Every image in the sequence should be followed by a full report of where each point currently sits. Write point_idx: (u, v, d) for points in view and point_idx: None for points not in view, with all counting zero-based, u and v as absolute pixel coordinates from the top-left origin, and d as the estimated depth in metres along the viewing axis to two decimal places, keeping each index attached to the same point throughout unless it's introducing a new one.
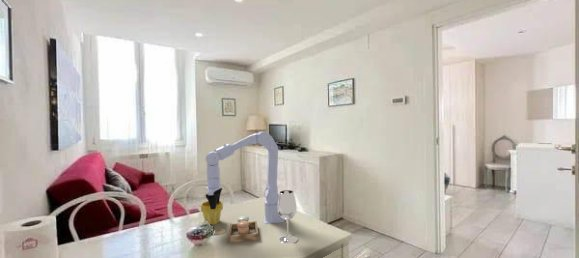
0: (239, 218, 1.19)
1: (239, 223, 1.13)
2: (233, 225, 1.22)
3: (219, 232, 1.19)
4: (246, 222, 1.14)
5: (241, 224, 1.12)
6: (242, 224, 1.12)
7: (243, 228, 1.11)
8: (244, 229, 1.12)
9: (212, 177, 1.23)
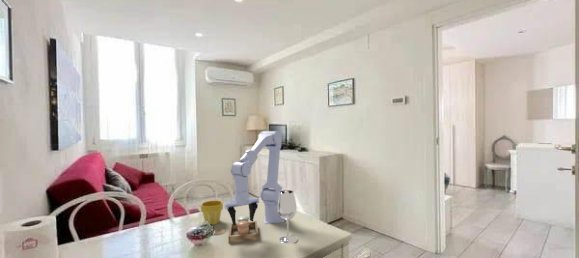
0: (239, 218, 1.19)
1: (239, 223, 1.13)
2: (233, 225, 1.22)
3: (219, 232, 1.19)
4: (246, 222, 1.14)
5: (241, 224, 1.12)
6: (242, 224, 1.12)
7: (243, 228, 1.11)
8: (244, 229, 1.12)
9: (246, 189, 1.11)
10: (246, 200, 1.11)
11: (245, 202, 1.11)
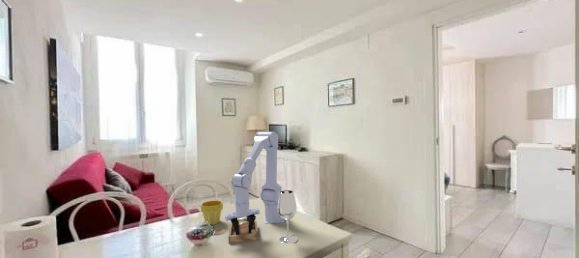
0: (239, 218, 1.19)
1: (239, 223, 1.13)
2: None
3: (219, 232, 1.19)
4: (246, 222, 1.14)
5: (241, 224, 1.12)
6: (242, 224, 1.12)
7: (243, 228, 1.11)
8: (244, 229, 1.12)
9: (246, 201, 1.11)
10: (247, 212, 1.11)
11: (246, 214, 1.11)
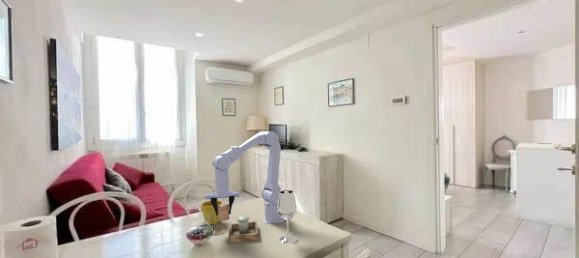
0: (239, 218, 1.19)
1: (219, 205, 1.18)
2: (233, 225, 1.22)
3: (219, 232, 1.19)
4: (226, 204, 1.18)
5: (220, 206, 1.16)
6: (221, 206, 1.16)
7: (222, 210, 1.15)
8: (223, 211, 1.15)
9: (224, 183, 1.15)
10: (224, 193, 1.15)
11: (223, 195, 1.15)
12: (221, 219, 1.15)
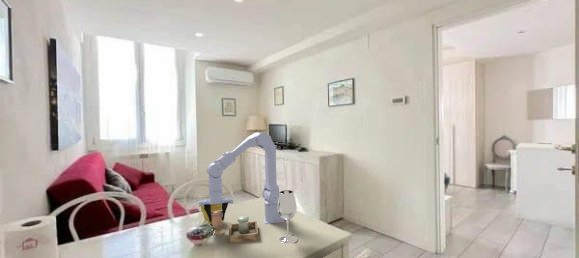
0: (239, 218, 1.19)
1: (213, 212, 1.20)
2: (233, 225, 1.22)
3: (219, 232, 1.19)
4: (219, 211, 1.20)
5: (213, 213, 1.18)
6: (214, 213, 1.18)
7: (215, 216, 1.17)
8: (216, 217, 1.17)
9: (216, 190, 1.17)
10: (217, 200, 1.17)
11: (216, 201, 1.17)
12: (214, 225, 1.17)
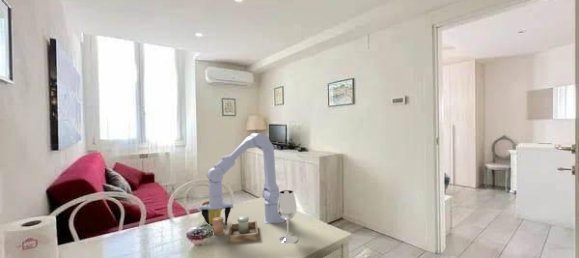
0: (239, 218, 1.19)
1: (214, 218, 1.20)
2: (233, 225, 1.22)
3: None
4: (221, 218, 1.20)
5: (215, 220, 1.18)
6: (216, 220, 1.18)
7: (216, 224, 1.17)
8: (217, 225, 1.17)
9: (216, 195, 1.17)
10: (218, 205, 1.17)
11: (216, 206, 1.17)
12: (215, 232, 1.18)
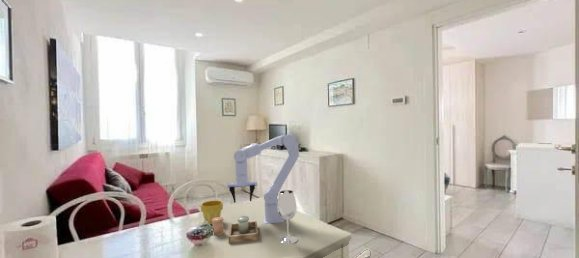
0: (239, 218, 1.19)
1: (214, 218, 1.20)
2: (233, 225, 1.22)
3: None
4: (221, 218, 1.20)
5: (215, 220, 1.18)
6: (216, 220, 1.18)
7: (216, 224, 1.17)
8: (217, 225, 1.17)
9: (239, 173, 1.29)
10: (244, 182, 1.30)
11: (242, 184, 1.29)
12: (215, 232, 1.18)
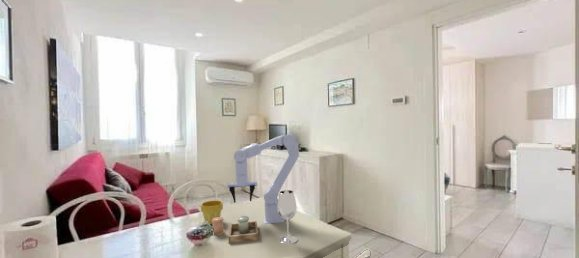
0: (239, 218, 1.19)
1: (214, 218, 1.20)
2: (233, 225, 1.22)
3: None
4: (221, 218, 1.20)
5: (215, 220, 1.18)
6: (216, 220, 1.18)
7: (216, 224, 1.17)
8: (217, 225, 1.17)
9: (239, 173, 1.29)
10: (244, 182, 1.30)
11: (242, 184, 1.29)
12: (215, 232, 1.18)
